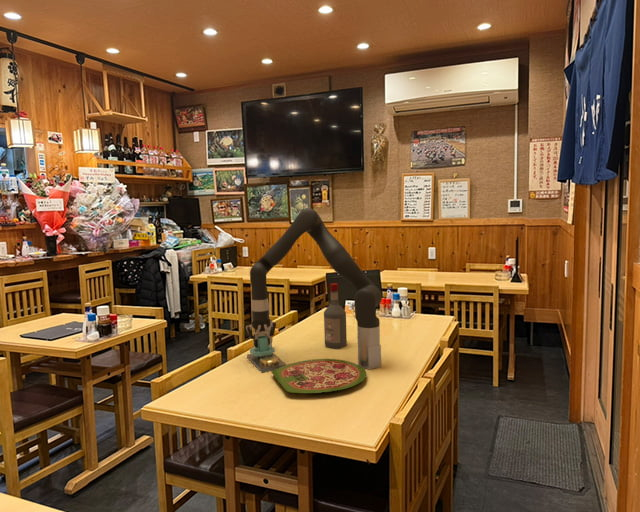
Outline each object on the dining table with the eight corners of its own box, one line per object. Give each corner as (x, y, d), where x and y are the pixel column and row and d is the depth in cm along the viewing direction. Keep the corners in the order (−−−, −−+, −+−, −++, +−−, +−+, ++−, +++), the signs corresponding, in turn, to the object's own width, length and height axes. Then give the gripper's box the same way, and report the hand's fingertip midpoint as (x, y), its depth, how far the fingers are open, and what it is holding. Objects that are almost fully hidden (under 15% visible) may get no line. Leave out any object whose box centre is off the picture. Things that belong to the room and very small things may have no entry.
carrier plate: (286, 368, 199) (286, 353, 198) (261, 372, 194) (260, 357, 193) (270, 353, 217) (269, 340, 217) (247, 357, 213) (246, 343, 212)
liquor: (338, 349, 220) (336, 286, 217) (322, 346, 226) (320, 284, 222) (349, 344, 227) (347, 283, 224) (333, 341, 233) (331, 281, 229)
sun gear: (282, 364, 199) (282, 360, 199) (263, 367, 195) (263, 364, 195) (275, 358, 207) (275, 355, 206) (257, 361, 203) (257, 358, 203)
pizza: (267, 372, 195) (266, 366, 195) (344, 359, 207) (344, 354, 207) (292, 405, 163) (292, 398, 162) (382, 388, 175) (382, 381, 175)
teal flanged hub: (276, 353, 208) (276, 338, 207) (254, 357, 203) (253, 341, 203) (269, 347, 217) (268, 332, 216) (248, 351, 212) (247, 335, 212)
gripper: (246, 312, 201) (248, 351, 203) (278, 308, 207) (280, 346, 209) (242, 309, 208) (244, 346, 210) (272, 305, 214) (274, 341, 216)
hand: (262, 346), depth 210 cm, fingers closed on teal flanged hub, 4 cm apart
